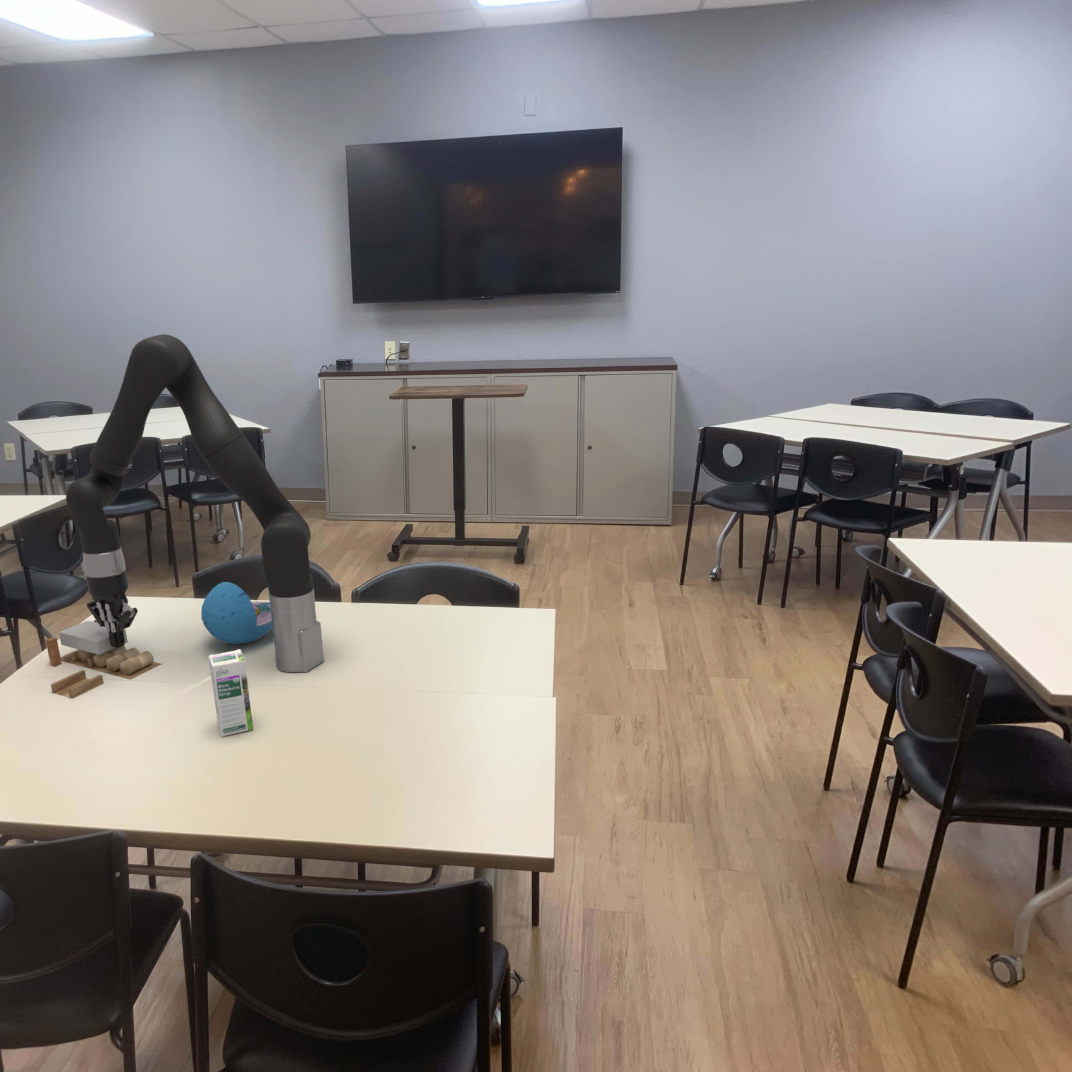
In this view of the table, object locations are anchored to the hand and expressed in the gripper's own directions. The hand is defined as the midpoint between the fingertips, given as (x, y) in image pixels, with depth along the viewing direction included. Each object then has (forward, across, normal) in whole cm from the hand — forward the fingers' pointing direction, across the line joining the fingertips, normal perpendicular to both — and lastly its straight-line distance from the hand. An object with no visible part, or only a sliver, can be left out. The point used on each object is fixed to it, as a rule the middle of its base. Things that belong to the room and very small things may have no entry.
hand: (118, 646), depth 173 cm
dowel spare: (+4, -8, 0) cm, 10 cm away
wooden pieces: (+6, -4, -4) cm, 8 cm away
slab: (+1, -8, 0) cm, 8 cm away
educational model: (+6, +13, +23) cm, 27 cm away
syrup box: (+6, +40, -8) cm, 41 cm away
